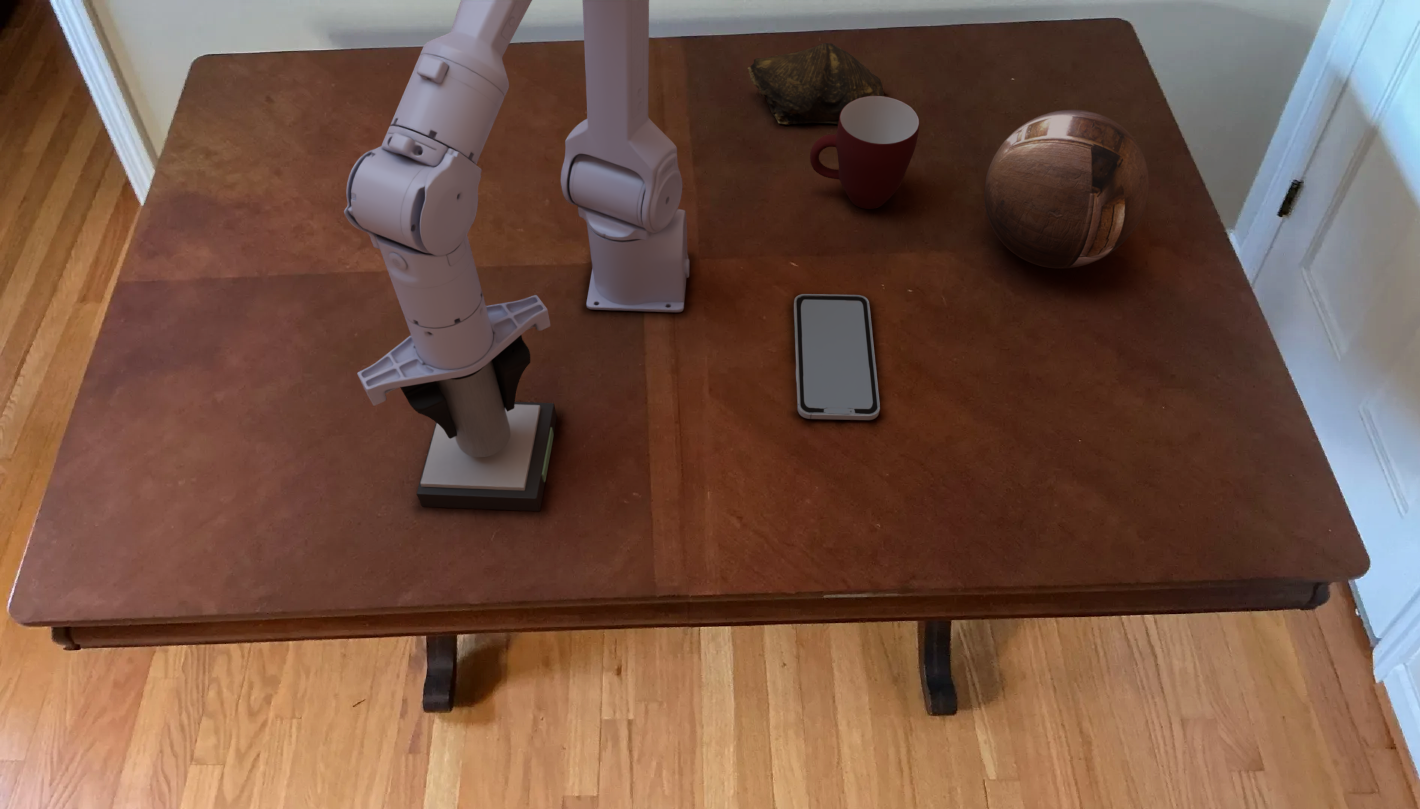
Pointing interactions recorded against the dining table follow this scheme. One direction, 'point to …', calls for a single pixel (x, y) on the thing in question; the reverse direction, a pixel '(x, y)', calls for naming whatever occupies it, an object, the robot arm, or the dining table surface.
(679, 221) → the robot arm
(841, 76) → the seashell
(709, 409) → the dining table surface
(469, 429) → the gray cylinder
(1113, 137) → the shiny copper ball
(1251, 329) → the dining table surface
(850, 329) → the smartphone
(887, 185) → the mug
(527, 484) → the scale
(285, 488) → the dining table surface
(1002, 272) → the dining table surface
